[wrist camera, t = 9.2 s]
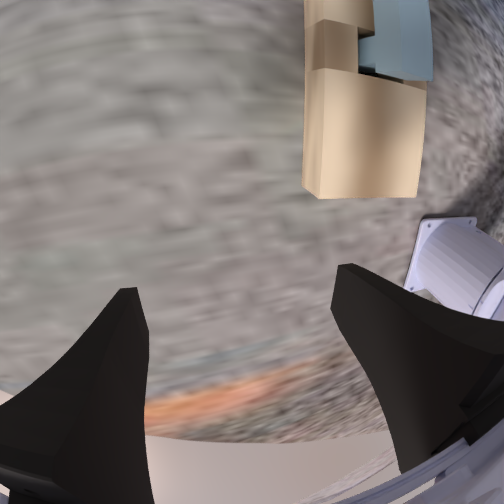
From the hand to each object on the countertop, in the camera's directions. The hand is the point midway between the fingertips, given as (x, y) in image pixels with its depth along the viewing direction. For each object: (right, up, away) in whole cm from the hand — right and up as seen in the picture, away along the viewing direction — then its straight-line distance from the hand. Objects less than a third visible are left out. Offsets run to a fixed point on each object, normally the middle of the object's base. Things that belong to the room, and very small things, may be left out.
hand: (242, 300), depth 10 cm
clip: (+8, +18, +4) cm, 20 cm away
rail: (+8, +18, +4) cm, 20 cm away
